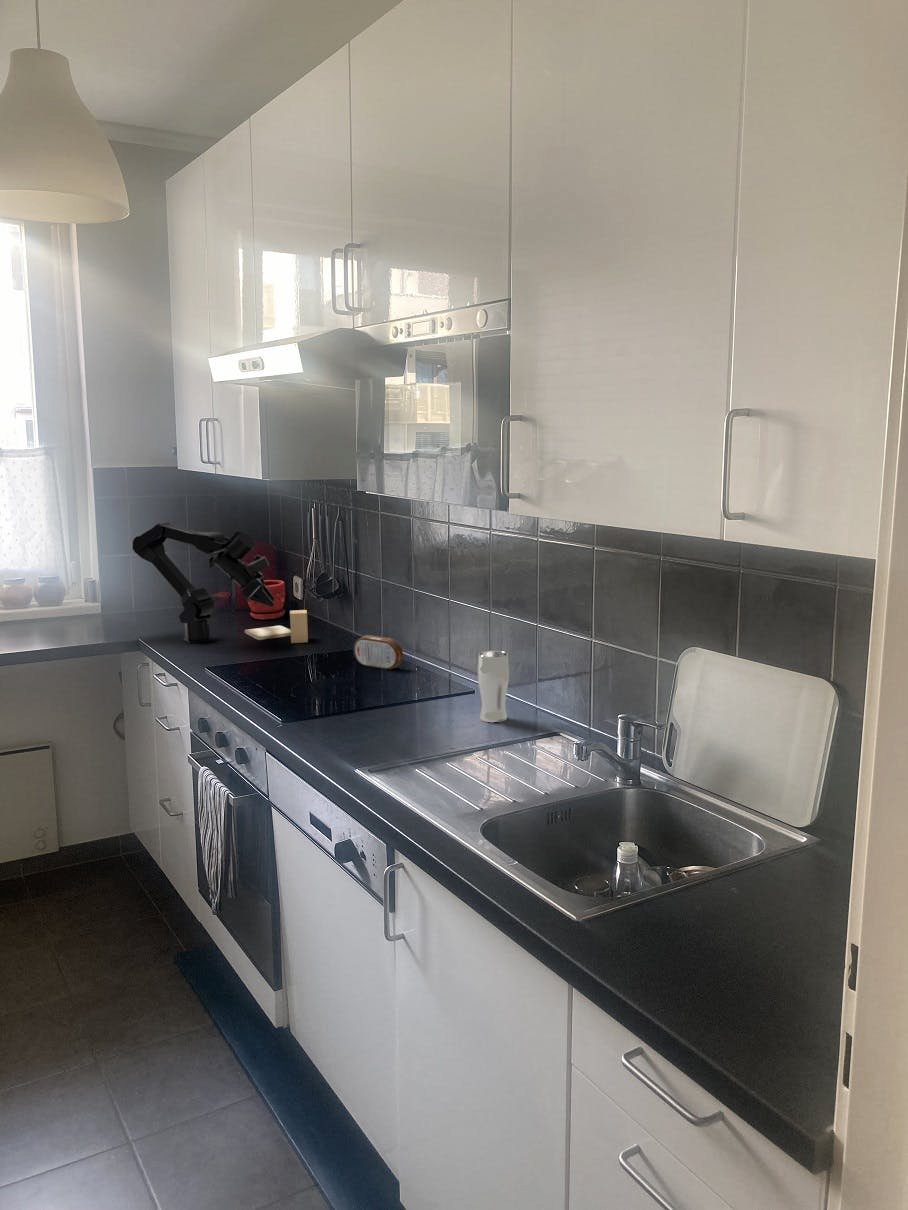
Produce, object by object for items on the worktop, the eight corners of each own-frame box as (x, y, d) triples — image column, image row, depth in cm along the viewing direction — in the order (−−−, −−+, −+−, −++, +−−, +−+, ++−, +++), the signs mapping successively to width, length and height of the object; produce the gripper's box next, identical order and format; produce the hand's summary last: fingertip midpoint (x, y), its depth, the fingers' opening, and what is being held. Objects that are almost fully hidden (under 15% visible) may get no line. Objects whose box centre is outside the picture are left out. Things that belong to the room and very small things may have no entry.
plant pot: (277, 612, 346) (275, 578, 344) (292, 618, 335) (290, 583, 333) (241, 616, 340) (239, 581, 337) (255, 622, 329) (253, 587, 326)
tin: (404, 669, 266) (403, 639, 265) (397, 672, 264) (396, 641, 262) (359, 662, 274) (358, 632, 273) (352, 665, 272) (351, 635, 270)
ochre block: (291, 643, 299) (290, 613, 297) (291, 639, 303) (289, 610, 302) (308, 642, 299) (306, 613, 298) (307, 638, 304) (306, 609, 303)
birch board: (258, 640, 303) (258, 636, 303) (244, 633, 313) (244, 629, 313) (295, 635, 309) (295, 632, 309) (280, 628, 319) (280, 625, 319)
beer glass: (483, 724, 218) (482, 658, 215) (474, 715, 224) (473, 651, 222) (513, 721, 220) (513, 656, 217) (503, 713, 226) (503, 649, 223)
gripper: (251, 552, 285) (292, 588, 289) (253, 544, 303) (291, 578, 307) (225, 580, 285) (265, 616, 289) (228, 570, 303) (266, 604, 307)
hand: (273, 602), depth 298 cm, fingers open, 9 cm apart
